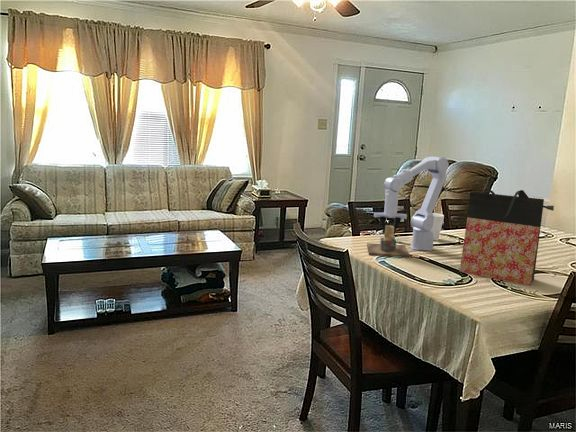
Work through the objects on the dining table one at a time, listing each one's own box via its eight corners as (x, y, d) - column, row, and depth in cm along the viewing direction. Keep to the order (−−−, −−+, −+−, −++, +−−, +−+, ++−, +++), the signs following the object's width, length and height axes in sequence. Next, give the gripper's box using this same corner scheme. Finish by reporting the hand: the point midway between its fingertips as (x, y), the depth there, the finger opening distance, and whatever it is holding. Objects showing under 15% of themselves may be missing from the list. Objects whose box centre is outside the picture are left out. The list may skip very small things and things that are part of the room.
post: (391, 243, 216) (393, 225, 215) (392, 245, 212) (394, 227, 211) (383, 243, 217) (384, 225, 215) (383, 245, 213) (385, 227, 211)
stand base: (404, 247, 223) (405, 236, 222) (410, 257, 205) (411, 245, 204) (366, 245, 225) (367, 234, 224) (368, 254, 207) (369, 242, 206)
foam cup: (437, 242, 236) (440, 217, 234) (420, 239, 242) (422, 214, 239) (443, 239, 244) (446, 214, 241) (426, 236, 249) (429, 212, 247)
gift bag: (457, 273, 185) (467, 186, 178) (466, 265, 196) (475, 183, 190) (540, 289, 169) (554, 194, 162) (544, 280, 180) (557, 190, 174)
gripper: (375, 204, 208) (373, 234, 210) (408, 206, 206) (406, 236, 209) (374, 202, 215) (372, 230, 217) (406, 203, 213) (404, 232, 216)
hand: (388, 233), depth 214 cm, fingers closed on post, 4 cm apart
